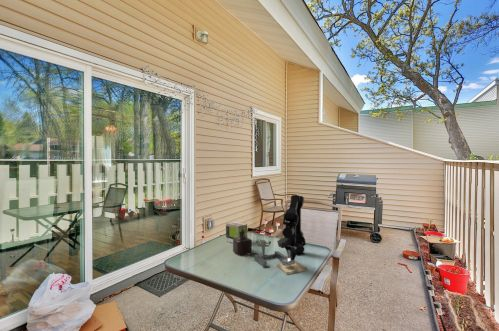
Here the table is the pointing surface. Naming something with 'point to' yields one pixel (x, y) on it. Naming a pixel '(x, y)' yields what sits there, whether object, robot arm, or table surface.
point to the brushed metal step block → (288, 260)
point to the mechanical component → (263, 245)
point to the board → (291, 268)
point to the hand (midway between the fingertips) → (291, 259)
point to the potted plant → (242, 244)
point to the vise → (262, 259)
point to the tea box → (234, 230)
